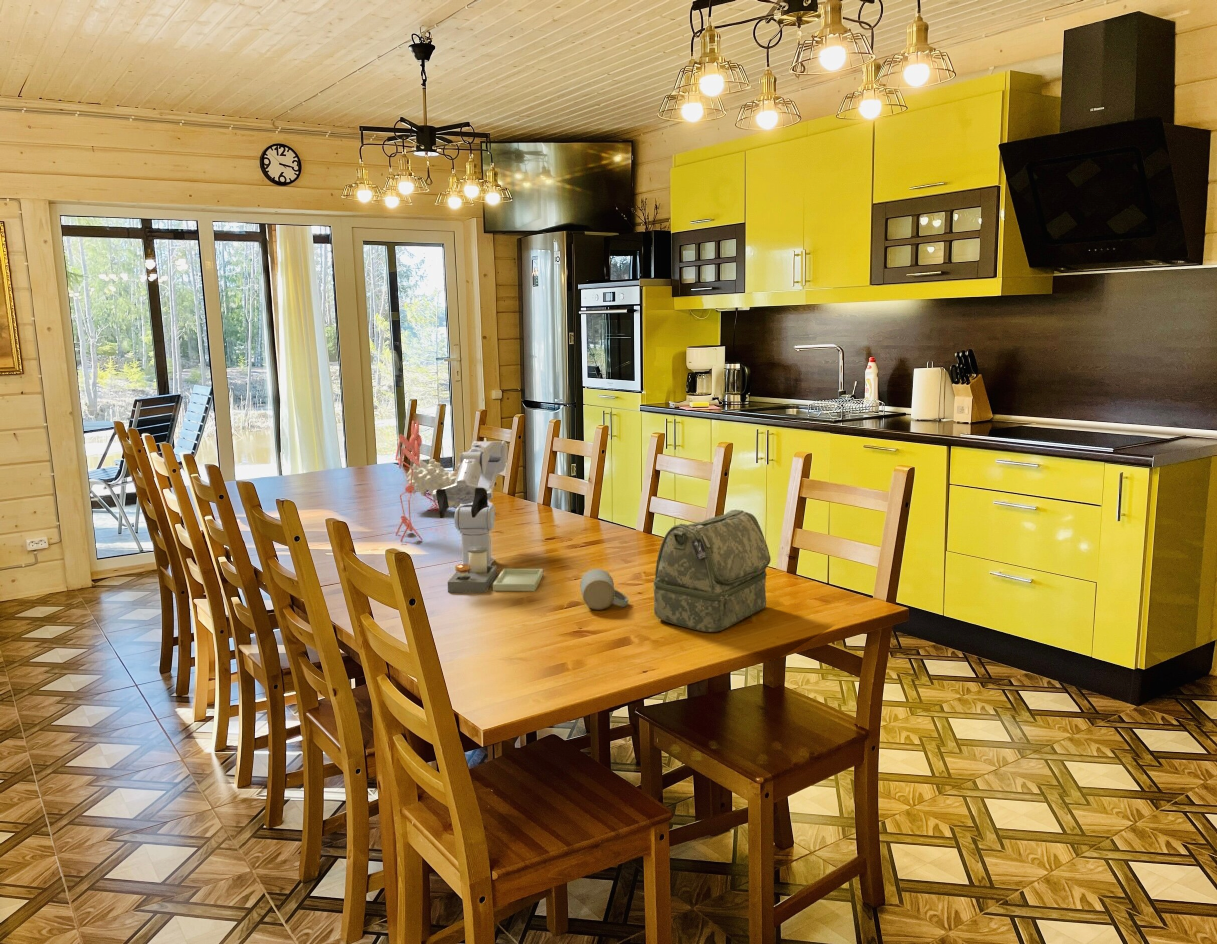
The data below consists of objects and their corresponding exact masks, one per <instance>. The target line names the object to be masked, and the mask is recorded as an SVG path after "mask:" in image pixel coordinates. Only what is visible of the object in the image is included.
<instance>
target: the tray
mask: <svg viewBox="0 0 1217 944" xmlns="http://www.w3.org/2000/svg"><path fill="white" fill-rule="evenodd" d="M543 571H544V570H543V568H503V569H502V570H501V571H500V573H499V575H497V577H496V578H495V579H494V581H493V582H492V591H495V592H497V591H498V592H500V591H501V592H504V591H505V592H507V591H508V592H513V591H514V592H535V591H536V590H537V587H538V586H539V583H540V581H541V579H542V577H543V576H544V574H543V573H544V572H543Z"/></svg>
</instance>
